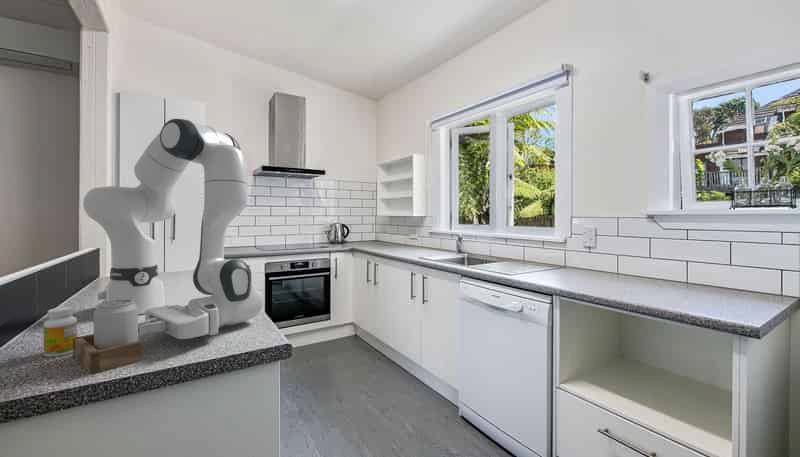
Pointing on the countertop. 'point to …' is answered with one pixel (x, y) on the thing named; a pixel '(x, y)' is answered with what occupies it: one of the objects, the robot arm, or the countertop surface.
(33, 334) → the countertop surface
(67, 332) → the supplement bottle
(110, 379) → the countertop surface
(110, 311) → the can
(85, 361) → the corral
